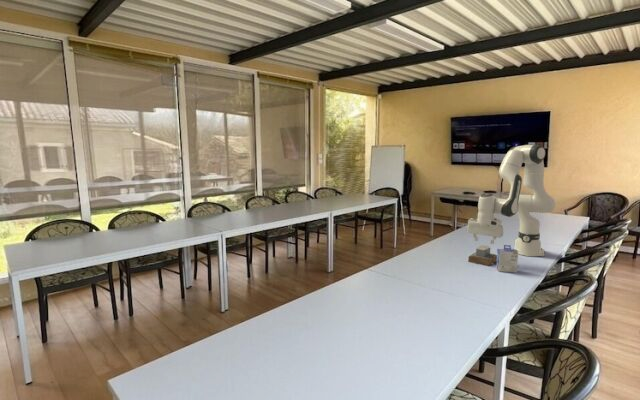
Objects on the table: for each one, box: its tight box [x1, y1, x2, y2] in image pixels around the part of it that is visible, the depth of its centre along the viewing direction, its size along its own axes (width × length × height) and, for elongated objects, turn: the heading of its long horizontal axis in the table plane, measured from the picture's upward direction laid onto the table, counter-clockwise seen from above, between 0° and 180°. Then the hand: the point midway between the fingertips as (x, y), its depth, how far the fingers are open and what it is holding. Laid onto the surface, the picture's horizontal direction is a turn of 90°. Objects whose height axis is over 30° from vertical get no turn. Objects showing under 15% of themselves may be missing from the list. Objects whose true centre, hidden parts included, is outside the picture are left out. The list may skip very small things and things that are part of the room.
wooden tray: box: [468, 251, 497, 267], centre depth 215 cm, size 14×12×4 cm
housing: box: [475, 244, 491, 257], centre depth 215 cm, size 5×9×5 cm, turn 134°
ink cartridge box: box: [496, 244, 519, 273], centre depth 198 cm, size 10×6×14 cm, turn 78°
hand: (484, 242), depth 214 cm, fingers open, 8 cm apart
